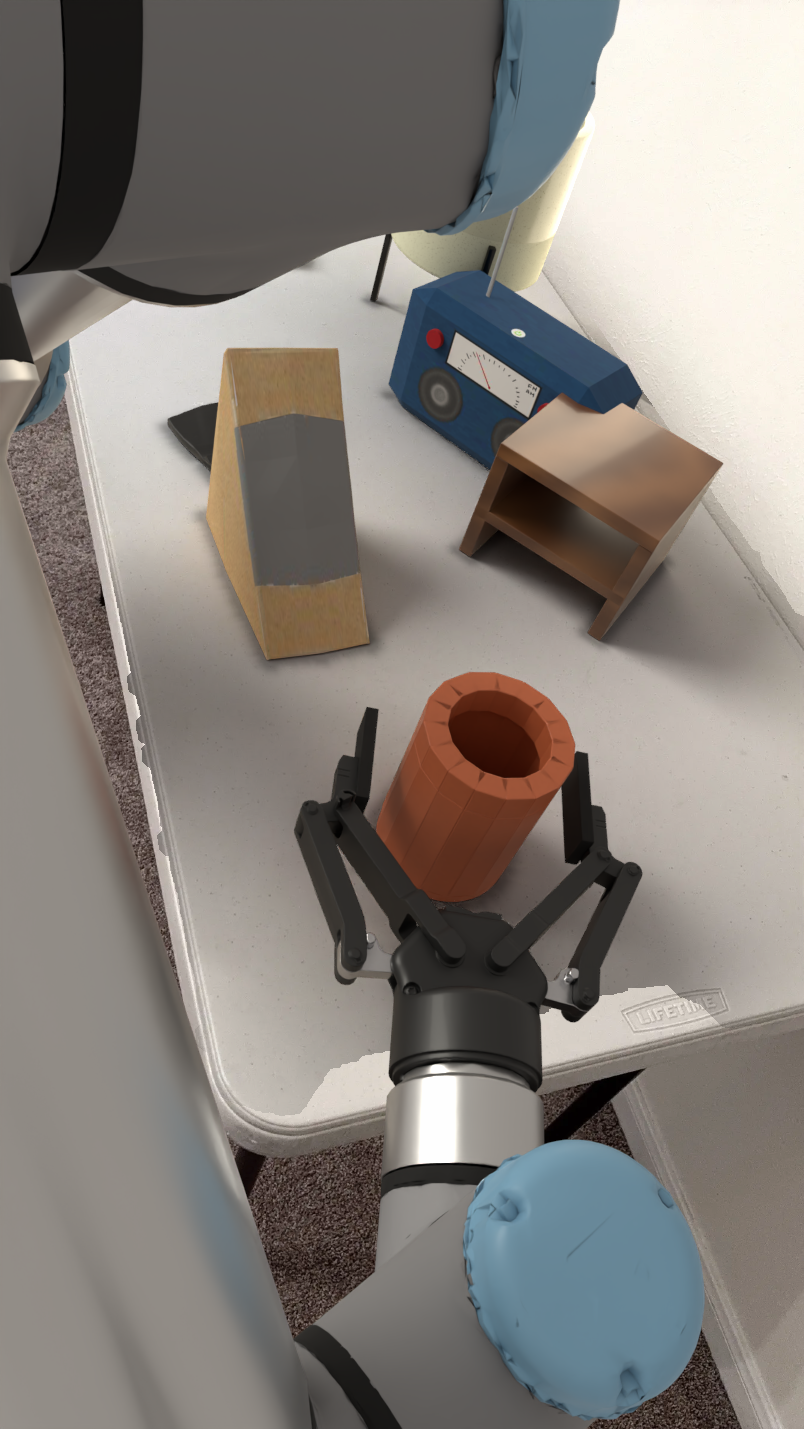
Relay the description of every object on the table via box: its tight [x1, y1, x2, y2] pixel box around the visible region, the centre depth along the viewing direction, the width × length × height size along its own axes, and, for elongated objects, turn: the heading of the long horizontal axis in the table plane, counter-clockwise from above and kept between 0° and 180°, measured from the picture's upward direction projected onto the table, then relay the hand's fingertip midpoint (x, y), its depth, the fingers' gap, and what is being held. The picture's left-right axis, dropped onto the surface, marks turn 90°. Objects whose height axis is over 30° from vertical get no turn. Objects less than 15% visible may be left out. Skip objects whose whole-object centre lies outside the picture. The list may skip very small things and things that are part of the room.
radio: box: [387, 207, 643, 471], centre depth 85 cm, size 21×9×20 cm, turn 50°
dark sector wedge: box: [166, 402, 218, 473], centre depth 84 cm, size 8×14×2 cm, turn 129°
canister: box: [375, 671, 576, 903], centre depth 59 cm, size 9×9×12 cm
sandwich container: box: [205, 347, 370, 661], centre depth 69 cm, size 9×15×15 cm, turn 24°
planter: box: [369, 111, 596, 303], centre depth 94 cm, size 15×16×23 cm
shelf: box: [458, 393, 724, 641], centre depth 81 cm, size 14×14×11 cm
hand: (472, 742), depth 61 cm, fingers open, 13 cm apart
